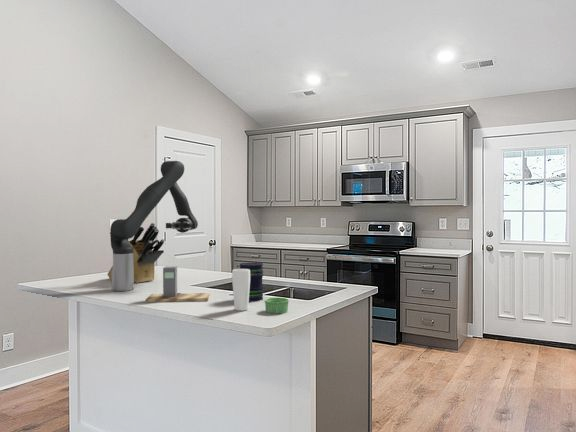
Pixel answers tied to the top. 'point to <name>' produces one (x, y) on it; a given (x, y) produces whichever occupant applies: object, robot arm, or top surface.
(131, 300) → the top surface
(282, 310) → the ramekin
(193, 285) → the top surface
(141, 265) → the knife block
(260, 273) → the storage jar
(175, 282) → the tall grey rectangular prism
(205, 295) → the board
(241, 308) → the drinking glass
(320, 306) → the top surface
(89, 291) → the top surface
